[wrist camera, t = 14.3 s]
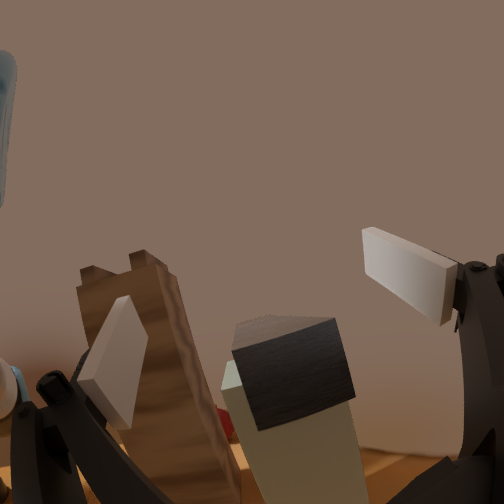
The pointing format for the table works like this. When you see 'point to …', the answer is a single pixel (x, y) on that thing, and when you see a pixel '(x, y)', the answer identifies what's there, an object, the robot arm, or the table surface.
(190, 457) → the stand
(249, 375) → the bar
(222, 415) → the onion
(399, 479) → the table surface
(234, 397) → the rest block
